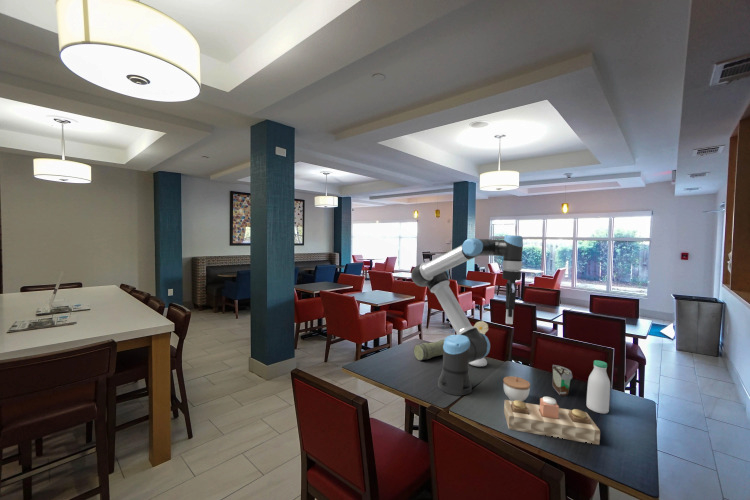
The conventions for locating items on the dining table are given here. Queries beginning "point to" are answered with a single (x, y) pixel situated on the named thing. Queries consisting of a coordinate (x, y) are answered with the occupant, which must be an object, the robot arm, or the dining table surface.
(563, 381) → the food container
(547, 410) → the middle button
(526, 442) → the dining table surface
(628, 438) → the dining table surface
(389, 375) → the dining table surface
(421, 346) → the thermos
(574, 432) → the button mount
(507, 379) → the lidded jar
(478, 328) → the flower in vase
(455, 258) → the robot arm
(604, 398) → the milk bottle
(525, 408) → the left button
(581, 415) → the right button
